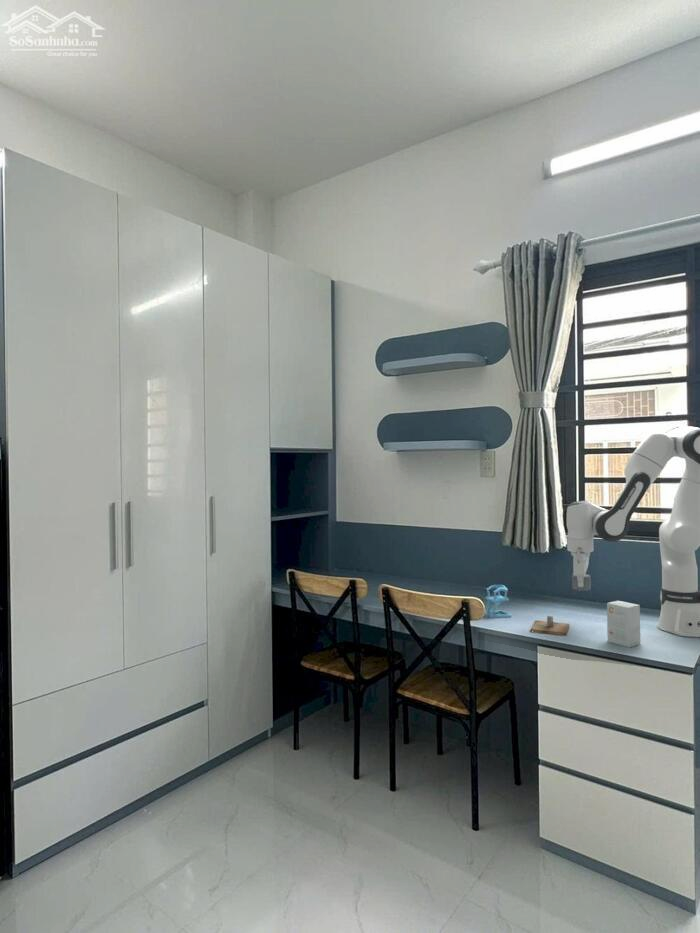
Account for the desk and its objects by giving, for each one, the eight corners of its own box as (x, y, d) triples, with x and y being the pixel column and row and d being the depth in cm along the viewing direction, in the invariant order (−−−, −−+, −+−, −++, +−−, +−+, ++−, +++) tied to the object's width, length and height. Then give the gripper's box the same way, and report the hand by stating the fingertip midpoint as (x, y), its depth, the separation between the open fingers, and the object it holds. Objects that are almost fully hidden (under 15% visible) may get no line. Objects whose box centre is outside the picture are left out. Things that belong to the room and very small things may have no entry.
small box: (640, 644, 193) (640, 604, 193) (629, 647, 190) (629, 607, 190) (618, 638, 200) (617, 599, 200) (606, 641, 197) (606, 602, 196)
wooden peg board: (569, 626, 214) (569, 614, 214) (566, 635, 203) (566, 622, 203) (535, 622, 219) (535, 610, 219) (530, 631, 209) (530, 619, 209)
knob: (591, 587, 213) (590, 572, 213) (590, 591, 207) (589, 576, 207) (573, 586, 215) (572, 572, 215) (571, 590, 210) (571, 575, 210)
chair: (482, 614, 233) (482, 584, 233) (501, 612, 235) (500, 582, 235) (493, 619, 225) (492, 588, 225) (512, 617, 228) (511, 586, 228)
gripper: (588, 550, 201) (589, 591, 201) (591, 542, 219) (592, 579, 219) (568, 550, 203) (569, 590, 203) (573, 541, 222) (574, 578, 222)
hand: (581, 584), depth 211 cm, fingers closed on knob, 6 cm apart
